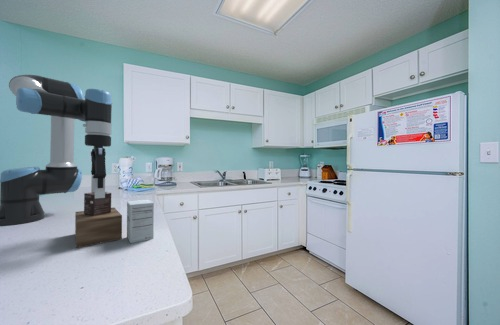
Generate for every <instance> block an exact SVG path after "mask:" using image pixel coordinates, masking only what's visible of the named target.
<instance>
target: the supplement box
mask: <svg viewBox="0 0 500 325" xmlns="http://www.w3.org/2000/svg"><path fill="white" fill-rule="evenodd" d="M154 205H155V203H154V202H153V201H152V200H150V199H139V200H129V201H128V200H127V201H126V237H127V238H128V240H129V243H130V244H133V243H139V242H144V241H149V240H153V239H154V234H155V233H154V222H155V220H154V219H155V218H154V216H155V213H154V211H155V209H154Z"/></svg>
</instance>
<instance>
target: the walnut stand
mask: <svg viewBox="0 0 500 325" xmlns="http://www.w3.org/2000/svg"><path fill="white" fill-rule="evenodd" d="M74 217H75V221H74V222H75V223H74V224H75V226H74V228H75V229H74V231H75V232H74V234H75V245H76V246H75V247H76V248H78V249H79V248H83V247H88V246H92V245H97V244H103V243H108V242H112V241H118V240H122V239H123V234H122V233H123V215H122V213H120V212H119V211H118V210H117V209H116V207H111V213H107V214H102V215H97V216H89V215H86V214H84V210H81V211H75V216H74Z"/></svg>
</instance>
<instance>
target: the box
mask: <svg viewBox="0 0 500 325" xmlns="http://www.w3.org/2000/svg"><path fill="white" fill-rule="evenodd" d="M83 195H84V199H83V200H84V202H83V211H84V214H86V215H89V216H97V215H102V214H107V213H111V208H112V192H108V191H105V198H95V192H92V193H91V192H84V194H83Z"/></svg>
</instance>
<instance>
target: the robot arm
mask: <svg viewBox="0 0 500 325" xmlns="http://www.w3.org/2000/svg"><path fill="white" fill-rule="evenodd" d="M8 87H9V90H10V91H11V92H12V94H13V96H14V97H15V105H16V109H17V110H18V111H20V112H24V113H28V114H33V115H43V116H50V145H49V146H50V147H49V148H50V150H49V152H50V154H49V160H50V161H49V162H48V163H47V164H46V165H45V169H41V168H40V167H39V166H32V167H29V166H28V167H19V168H9V169H5V170H3V171H1V173H0V226H12V225H13V226H14V225H21V224H26V223H32V222H36V221H39V220H44V219H45V211H44V208H43V206H42V204H41V202H40V196H42V195H53V194H55V195H56V194H68V193H72V192H76V191H77V190H79V188H80V186H81V183H82V180H83V179H82V178H83V175H82V169H80V168H78V165H77V164H76V163H75V162H74V157H75V155H74V154H75V152H74V151H75V120H79V121H81V122H84V123H82V127H83V128H84V133H85V135H84V145H85V146H87V147H93V148H91V151H90V156H91V157H90V160H91V161H90V162H91V170H90V174H91V187H90V188H91V190H90V193H92V192H95V198H105V192H106V177H107V169H106V154H107V152H106V148H105V147H107V148H110V147H111V146H112V137H111V135H112V104H113V102H112V100H113V99H112V95H111V93H110V92H108V91H107V90H103V89H100V88H88V89H86V90H85V92H84V93H85V94H83V91H82V89H81V87H80V86H78V85H77V84H74V83H70V82H68V81H64V80H58V79H54V78H49V77H45V76H42V75H37V74H20V75H19V74H18V75H16V76H14V77H12V78H11V79H10V80H9V82H8Z"/></svg>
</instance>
